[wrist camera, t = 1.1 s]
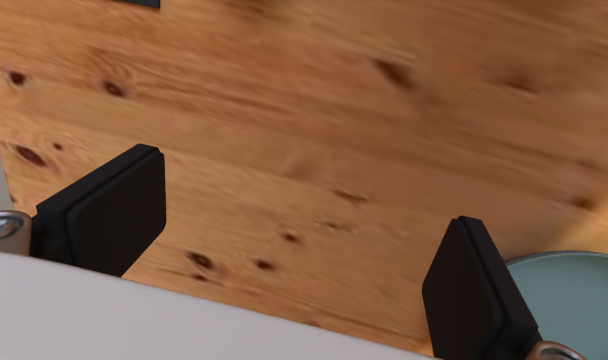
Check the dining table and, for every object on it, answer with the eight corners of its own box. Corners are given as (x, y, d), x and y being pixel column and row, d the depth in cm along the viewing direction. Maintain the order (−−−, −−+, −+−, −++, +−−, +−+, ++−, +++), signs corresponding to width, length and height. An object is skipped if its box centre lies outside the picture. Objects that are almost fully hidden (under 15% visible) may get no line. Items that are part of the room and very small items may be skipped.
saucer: (654, 380, 43) (675, 408, 40) (448, 386, 49) (453, 411, 46) (681, 217, 33) (712, 238, 30) (421, 252, 40) (426, 271, 37)
